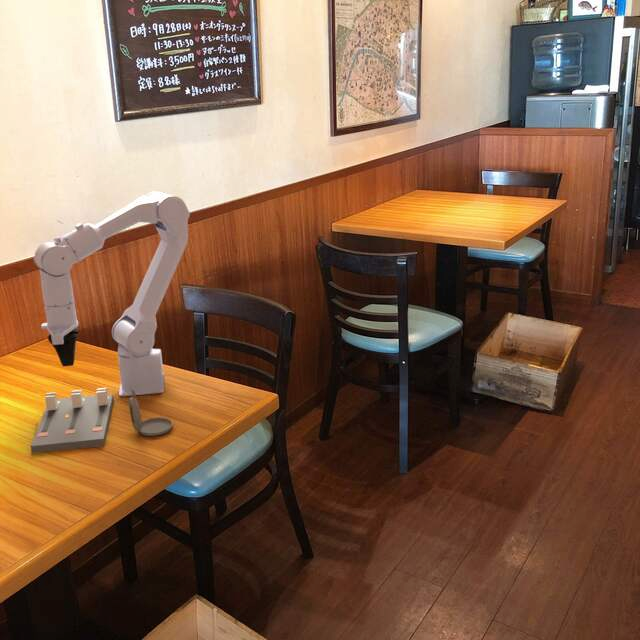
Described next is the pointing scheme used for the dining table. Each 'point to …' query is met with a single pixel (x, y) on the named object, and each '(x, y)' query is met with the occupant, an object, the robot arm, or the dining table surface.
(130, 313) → the robot arm
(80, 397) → the handle
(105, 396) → the handle
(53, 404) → the handle
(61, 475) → the dining table surface
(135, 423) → the pocket watch
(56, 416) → the panel
